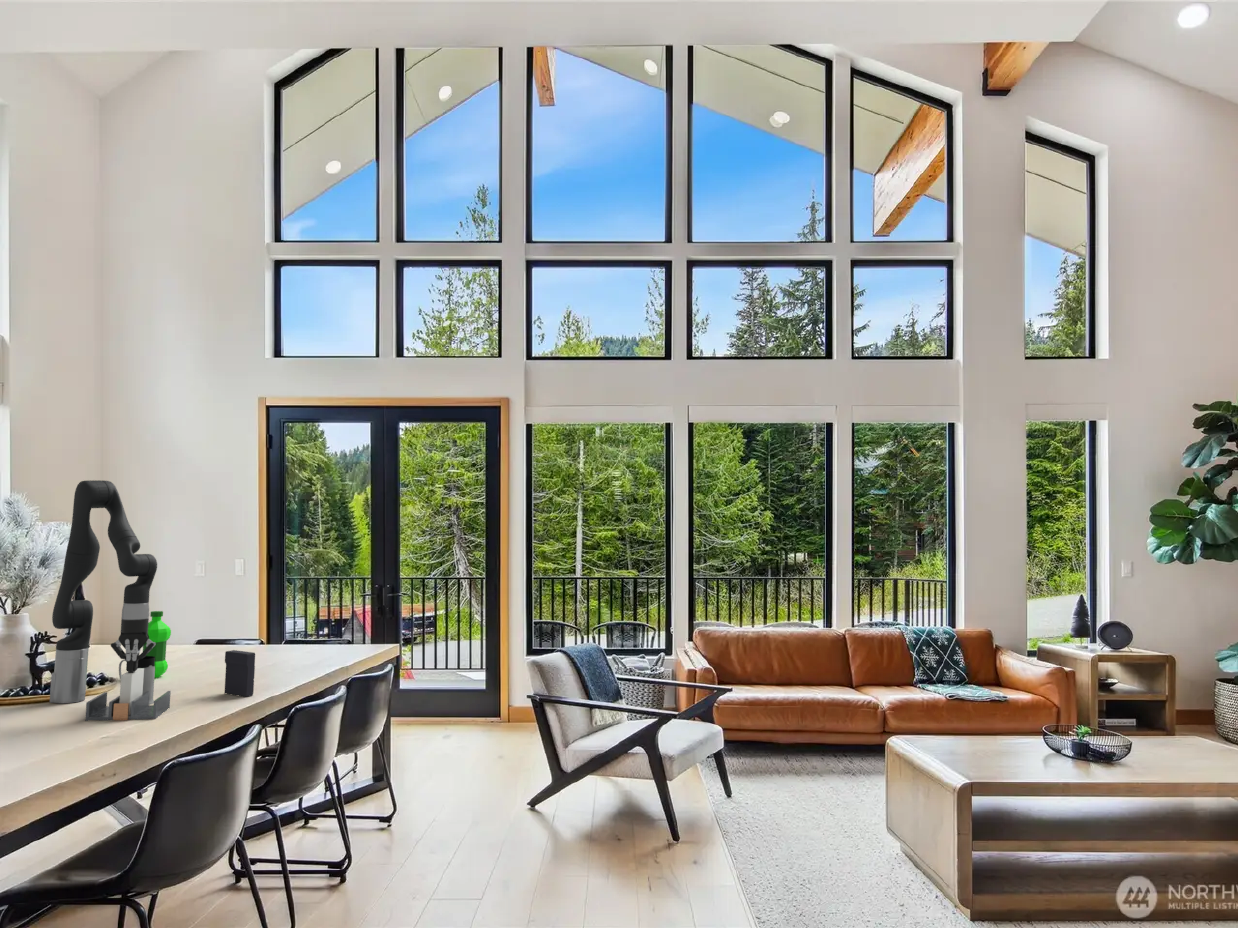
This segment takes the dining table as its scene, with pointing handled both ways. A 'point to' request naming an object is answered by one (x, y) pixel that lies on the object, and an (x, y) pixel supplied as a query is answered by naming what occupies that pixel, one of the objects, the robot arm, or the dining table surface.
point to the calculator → (239, 673)
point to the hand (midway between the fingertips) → (131, 672)
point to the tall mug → (146, 674)
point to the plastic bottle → (158, 642)
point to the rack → (126, 708)
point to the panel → (131, 686)
